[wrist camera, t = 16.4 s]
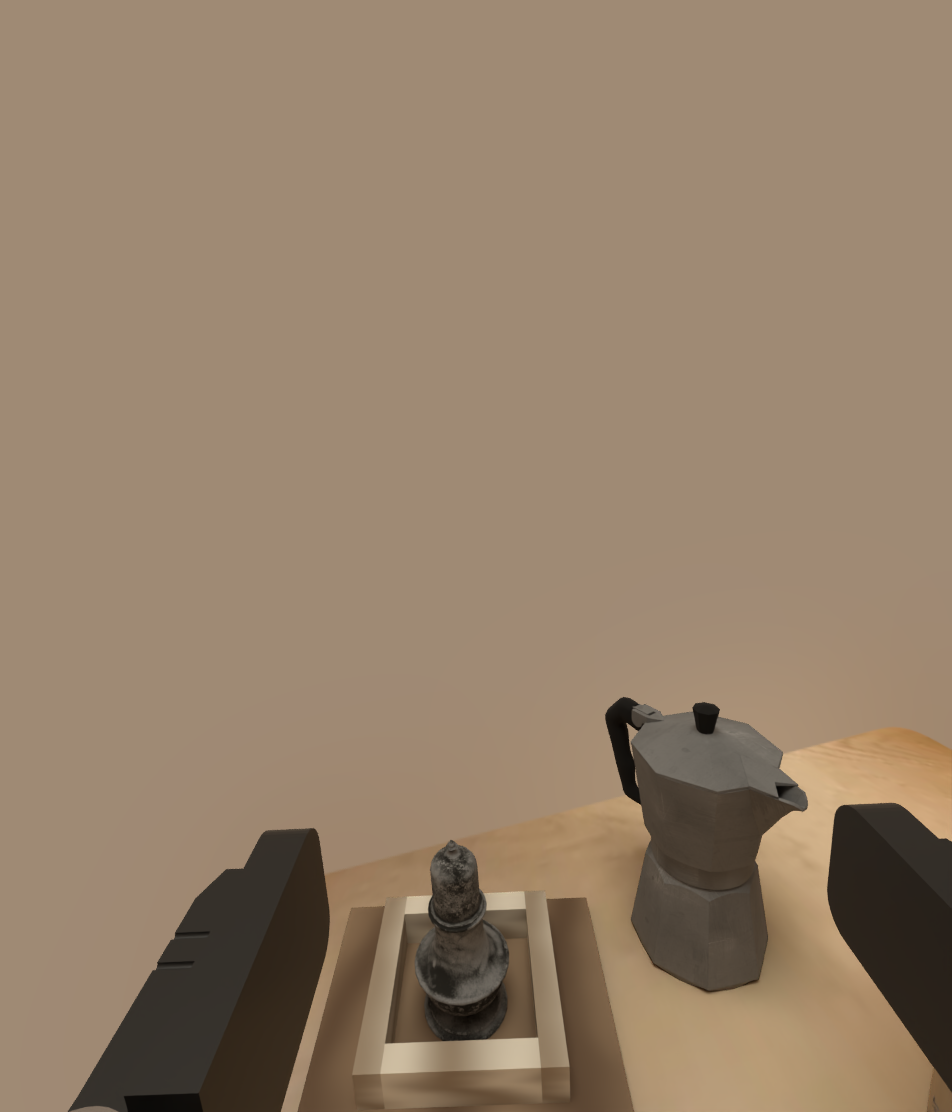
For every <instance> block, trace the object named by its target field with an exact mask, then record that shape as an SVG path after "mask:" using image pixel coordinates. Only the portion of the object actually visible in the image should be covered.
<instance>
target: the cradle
mask: <svg viewBox="0 0 952 1112" xmlns="http://www.w3.org/2000/svg"><path fill="white" fill-rule="evenodd" d="M483 894H484V896H485V898H486V903H487V906H486V912H485V915H484V917H483V920H485V921H487V922H489V923H491V924H493V925H494V926H495V927H496V928H497V929H498V930H499V931H500V932H501V933H502V935H503V937H504V938H505V940H506V942H507V946H508V950H509V966H508V969H507V973H506V976H505V978H504V979H503V983H504V985H505V988H506V992H507V1011H506V1014H505V1018H504V1020H503V1022H502V1023H501V1025H500V1027H499V1028H498V1030H497V1031H496V1032H495V1033H494V1034H493V1035H492V1036H491V1037H490V1038H488V1039H486V1040H465V1041H442V1040H441V1039H440V1038H438V1037H437V1036H436V1035H435V1034H434V1033H433V1031H432V1030H431V1029H430V1027H429V1025H428V1023H427V1020H426V1017H425V1008H424V1002H425V997H426V992H425V991H424V990H423V988H422V987H421V986H420V984H419V982H418V979H417V977H416V974H415V962H414V961H415V956H416V951H417V949H418V947H419V945H420V943H421V941H422V939H423V938H424V937H425V935H426V934H427V933H428V932H429V931H430V930H431V929H432V928H434V927H435V925H434V924H433V923H432V922H431V920H430V918H429V915H428V905H429V901H430V899H431V897H432V896H411V897H388V898H386V903H385V906H383V907H360V908H351V911H350V915H349V918H348V922H347V926H346V930H345V934H344V937H343V941H342V945H341V949H340V953H339V956H338V960H337V964H336V968H335V972H334V975H333V979H332V983H331V987H330V991H329V994H328V998H327V1002H326V1006H325V1010H324V1013H323V1017H322V1021H321V1025H320V1029H319V1032H318V1036H317V1040H316V1044H315V1047H314V1051H313V1055H312V1059H311V1063H310V1066H309V1070H308V1074H307V1078H306V1082H305V1085H304V1089H303V1093H302V1097H301V1101H300V1104H299V1108H298V1112H634V1110H633V1105H632V1101H631V1096H630V1092H629V1087H628V1083H627V1078H626V1074H625V1069H624V1065H623V1061H622V1056H621V1052H620V1047H619V1043H618V1038H617V1034H616V1029H615V1025H614V1020H613V1016H612V1011H611V1007H610V1002H609V998H608V993H607V989H606V984H605V980H604V976H603V971H602V967H601V962H600V958H599V953H598V949H597V944H596V940H595V935H594V931H593V926H592V922H591V917H590V913H589V908H588V904H587V899H586V898H564V899H546V894H545V891H523V892H501V893H483Z"/></svg>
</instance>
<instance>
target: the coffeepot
mask: <svg viewBox="0 0 952 1112" xmlns="http://www.w3.org/2000/svg"><path fill="white" fill-rule="evenodd" d="M719 711H720V709H719V708H718V707H717V706H715V705H714V704H709V703H705V702H703V703H696V704H695V705H694V706H693V712H686V713H680V714H673V715H666V716H662V714H661V712H660V711H658V710H656V709H654V708H652V707H650V706H648V705H646V704H644V705H640V704H638V703H637V702H635V701H634V700H632V699H630V698H626V697H623V698H620V699H619V700H618V701H617V702H615V703H614V704H613V705H612V706H611V707H610V708H609V709H608V710H607V713H606V715H605V719H606V724H607V728H608V732H609V735H610V739H611V743H612V747H613V751H614V755H615V760H616V764H617V767H618V772H619V775H620V779H621V782H622V786H623V790H624V793H625V794H626V795H627V796H628V797H629V798H631V799H632V800H634V801H635V802H637V803H639V804H640V805H641V806H642V812H643V818H644V824H645V826H646V828H647V830H648V832H649V833H650V835H651V841H650V843H649V845H648V848H647V850H646V853H645V858H644V862H643V867H642V871H641V876H640V880H639V885H638V889H637V894H636V898H635V903H634V908H633V912H632V917H631V921H632V923H633V925H634V927H635V929H636V931H637V933H638V936H639V938H640V941H641V943H642V945H643V947H644V948H645V950H646V951H647V953H648V954H649V956H650V957H651V959H652V961H653V963H654V964H656V965H657V966H659V967H660V968H661V969H663V970H664V971H666V972H667V973H669V974H671V975H672V976H674V977H676V978H677V979H679V980H681V981H683V982H686V983H688V984H690V985H693V986H697V987H701V988H704V989H706V990H708V991H712V990H726V989H734V988H737V987H739V986H742V985H745V984H746V983H748V982H749V981H753V980H758V979H759V976H760V971H761V967H762V964H763V959H764V954H765V950H766V946H767V941H768V934H767V927H766V920H765V913H764V906H763V899H762V892H761V885H760V878H759V871H758V865H757V863H756V862H755V859H756V856H757V853H758V849H759V846H760V842H761V838H762V835H763V834H764V833H765V832H766V831H767V830H769V829H770V828H771V827H772V826H773V825H774V824H775V823H776V822H777V821H779V820H780V819H781V818H782V817H783V816H785V815H787V814H788V813H790V812H791V811H802V812H803V811H805V810H806V809H807V806H808V801H807V797H806V794H805V792H804V791H803V790H801V789H800V788H799V787H797V786H798V784H797V783H796V782H794V781H793V780H792V779H791V778H790V777H789V776H787V775H786V774H785V773H784V772H783V771H781V770H780V769H779V768H780V764H781V760H782V756H783V752H782V751H781V750H780V749H778V748H777V747H776V746H774V745H773V744H772V743H771V742H770V741H768V740H767V739H766V738H765V737H763V736H762V735H761V734H760V733H759V732H757V731H756V730H755V729H754V728H752V727H751V726H750V725H749V724H746V723H742V722H738V721H733V720H729V719H725V718H721V717H718V714H719ZM626 723H628V724H629V725H631V726H632V727H633V728H635V729H636V730H638V731H639V732H638V733H637V734H636V736H635V737H634V738H633V739H632V741H631V745H632V750H633V756H634V759H633V757H632V754H631V751H630V746H629V735H628V728H627V724H626ZM635 769H636V775H637V781H638V787H639V788H638V787H637V785H636V781H635Z"/></svg>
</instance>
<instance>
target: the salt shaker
mask: <svg viewBox="0 0 952 1112" xmlns="http://www.w3.org/2000/svg"><path fill="white" fill-rule="evenodd" d="M430 872H431V882H432V892H433V895H432V897H431V899H430V901H429V905H428V915H429V918H430V920H431V922H432V923H433V924H434V925H435V927H434V928H432V929H431V930H430V931H429V932H428V933H427V934H426V935H425V937H424V938H423V939H422V941H421V943H420V945H419V947H418V949H417V951H416V956H415V961H414V962H415V974H416V977H417V979H418V982H419V984H420V986H421V987H422V988H423V990H424V991H425V992H426V997H425V1002H424V1008H425V1017H426V1020H427V1023H428V1025H429V1027H430V1029H431V1030H432V1031H433V1033H434V1034H435V1035H436V1036H437V1037H438V1038H440V1039H441V1040H442V1041H465V1040H486V1039H488V1038H490V1037H491V1036H492V1035H493V1034H494V1033H495V1032H496V1031H497V1030H498V1028H499V1027H500V1025H501V1023H502V1022H503V1020H504V1018H505V1014H506V1011H507V992H506V988H505V985H504V983H503V979H504V978H505V976H506V973H507V969H508V966H509V950H508V946H507V942H506V940H505V938H504V937H503V935H502V933H501V932H500V931H499V930H498V929H497V928H496V927H495V926H494V925H493V924H491V923H489V922H487V921H485V920H483V917H484V915H485V912H486V906H487V903H486V898H485V896H484V894H483V892H482V891H481V890H480V889H479V882H478V869H477V862H476V859H475V856H474V855H473V853H472V852H471V851H470V850H468V849H467V848H466V847H463V846H460V845H457V843H455V842H454V841H453V840H450V842H448V844H447V845H446V847H444V848H442V849H441V850H439V851H438V852H437V854H436V855H435V856H434V858H433V859H432V862H431V868H430Z"/></svg>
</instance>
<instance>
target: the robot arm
mask: <svg viewBox="0 0 952 1112" xmlns="http://www.w3.org/2000/svg"><path fill="white" fill-rule="evenodd" d="M827 893H828V901H829V906H830V910H831V913H832V916H833V919H834V921H835V924H836V926H837V928H838V930H839V932H840V934H841V936H842V937H843V939H844V940H845V942H846V943H847V944H848V946H849V947H850V949H851V950H852V952H853V953H854V954H855V956H856V957H857V959H858V960H859V962H860V963H861V964H862V966H863V967H864V969H865V970H866V971H867V973H868V974H869V976H870V977H871V979H872V980H873V981H874V983H875V984H876V986H877V987H878V989H879V990H880V991H881V993H882V994H883V996H884V997H885V999H886V1000H887V1001H888V1003H889V1004H890V1006H891V1007H892V1008H893V1010H894V1011H895V1013H896V1014H897V1016H898V1017H899V1018H900V1020H901V1021H902V1023H903V1024H904V1026H905V1027H906V1028H907V1030H908V1031H909V1033H910V1034H911V1036H912V1037H913V1038H914V1040H915V1041H916V1043H917V1044H918V1045H919V1047H920V1048H921V1050H922V1051H923V1053H924V1054H925V1055H926V1057H927V1058H928V1060H929V1061H930V1063H931V1064H932V1065H933V1067H934V1068H933V1074H932V1080H931V1087H930V1093H929V1100H928V1108H927V1112H952V842H951V841H949V840H948V839H938V838H937V837H936V836H935V835H934V834H933V833H932V832H931V831H930V830H929V829H927V828H926V827H925V826H924V825H923V824H922V823H921V822H920V821H919V820H918V819H916V818H915V817H914V816H913V815H912V814H911V813H910V812H909V811H908V810H906V809H905V808H904V807H902V806H901V805H899V804H896V803H878V804H857V805H843V806H840V807H839V808H838V809H837V811H836V813H835V818H834V826H833V836H832V846H831V856H830V866H829V876H828V886H827ZM329 925H330V914H329V904H328V897H327V890H326V883H325V876H324V869H323V862H322V856H321V848H320V841H319V836H318V833H317V831H316V830H315V829H314V828H310V829H289V830H268V831H265V832H264V833H263V834H262V835H261V837H260V838H259V840H258V842H257V844H256V846H255V848H254V850H253V851H252V854H251V855H250V857H249V859H248V861H247V863H246V865H245V867H244V869H226V870H225V871H224V872H223V873H222V874H221V875H220V876H219V877H218V878H217V879H216V880H215V881H213V882H212V883H211V884H210V885H209V886H208V887H207V888H206V889H205V890H204V891H203V892H202V893H201V894H200V895H199V896H198V897H197V898H196V899H195V900H194V902H193V904H192V905H191V907H190V909H189V910H188V912H187V914H186V915H185V917H184V919H183V920H182V922H181V924H180V925H179V927H178V929H177V930H176V932H175V938H174V940H171V941H170V943H169V944H168V946H167V947H166V949H165V951H164V952H163V954H162V956H161V958H160V959H159V961H158V962H157V963H158V965H157V969H156V970H153V971H152V973H151V974H150V976H149V978H148V979H147V981H146V983H145V984H144V986H143V988H142V990H141V991H140V993H139V994H138V996H137V998H136V999H135V1001H134V1003H133V1004H132V1006H131V1008H130V1010H129V1011H128V1013H127V1015H126V1016H125V1018H124V1020H123V1021H122V1023H121V1025H120V1026H119V1028H118V1030H117V1031H116V1033H115V1035H114V1037H113V1038H112V1040H111V1041H110V1043H109V1045H108V1047H107V1048H106V1050H105V1052H104V1053H103V1055H102V1057H101V1058H100V1060H99V1062H98V1064H97V1065H96V1067H95V1068H94V1070H93V1072H92V1074H91V1075H90V1077H89V1078H88V1080H87V1082H86V1084H85V1085H84V1087H83V1089H82V1090H81V1092H80V1094H79V1095H78V1097H77V1098H76V1100H75V1102H74V1103H73V1104H72V1106H71V1108H70V1109H69V1111H68V1112H281V1109H282V1105H283V1102H284V1098H285V1095H286V1091H287V1088H288V1084H289V1081H290V1077H291V1074H292V1071H293V1067H294V1064H295V1060H296V1057H297V1053H298V1050H299V1046H300V1043H301V1039H302V1036H303V1032H304V1029H305V1025H306V1022H307V1018H308V1015H309V1011H310V1008H311V1005H312V1001H313V998H314V994H315V991H316V987H317V984H318V980H319V977H320V973H321V970H322V966H323V963H324V959H325V955H326V951H327V945H328V938H329Z"/></svg>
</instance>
